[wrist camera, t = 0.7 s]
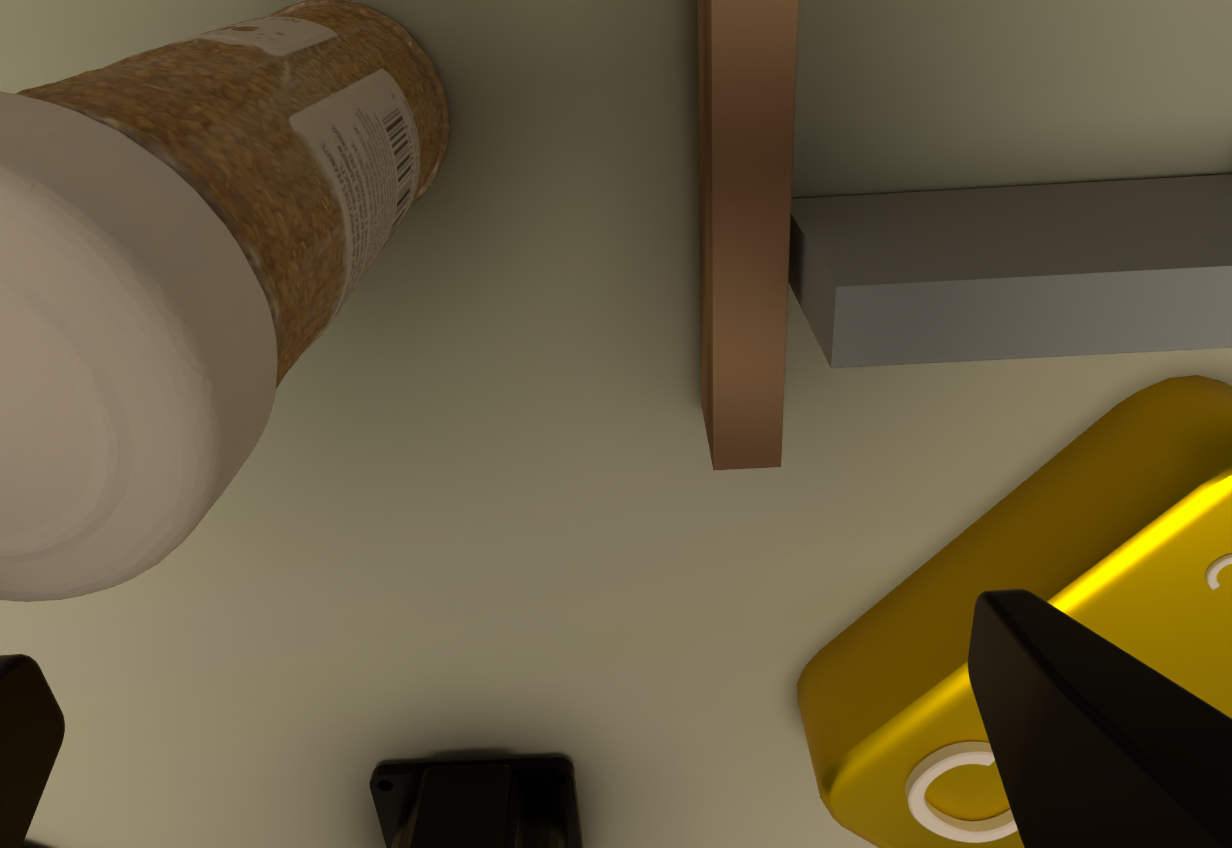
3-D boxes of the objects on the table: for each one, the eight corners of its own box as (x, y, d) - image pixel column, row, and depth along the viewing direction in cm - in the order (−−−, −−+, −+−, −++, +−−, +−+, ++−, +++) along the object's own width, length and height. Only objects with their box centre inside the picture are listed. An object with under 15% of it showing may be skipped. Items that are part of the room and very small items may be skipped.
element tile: (1067, 873, 32) (1135, 1014, 28) (765, 684, 28) (792, 818, 24) (1476, 625, 27) (1637, 754, 23) (1181, 336, 22) (1313, 431, 18)
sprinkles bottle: (279, -47, 18) (-382, 2, 6) (489, 70, 19) (281, 309, 7) (213, 159, 20) (-384, 505, 8) (407, 255, 21) (134, 686, 9)
